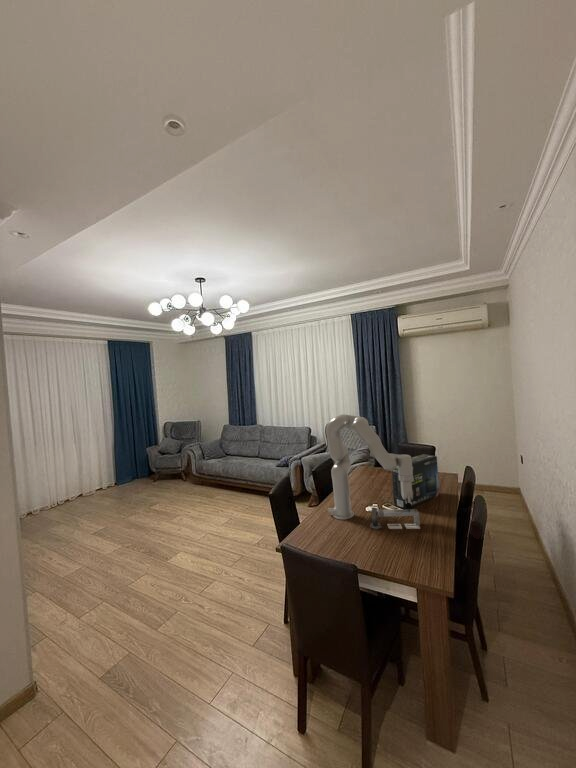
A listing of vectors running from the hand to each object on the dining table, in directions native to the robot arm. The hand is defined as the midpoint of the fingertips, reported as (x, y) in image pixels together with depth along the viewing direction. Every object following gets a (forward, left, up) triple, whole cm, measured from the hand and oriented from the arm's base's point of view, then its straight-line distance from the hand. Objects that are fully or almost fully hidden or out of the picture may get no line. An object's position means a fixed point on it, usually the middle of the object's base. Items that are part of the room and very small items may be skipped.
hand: (408, 510), depth 169 cm
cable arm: (-7, -6, -5) cm, 10 cm away
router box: (+12, +31, -6) cm, 33 cm away
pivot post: (-19, -6, -6) cm, 21 cm away
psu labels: (-5, -6, -6) cm, 10 cm away
